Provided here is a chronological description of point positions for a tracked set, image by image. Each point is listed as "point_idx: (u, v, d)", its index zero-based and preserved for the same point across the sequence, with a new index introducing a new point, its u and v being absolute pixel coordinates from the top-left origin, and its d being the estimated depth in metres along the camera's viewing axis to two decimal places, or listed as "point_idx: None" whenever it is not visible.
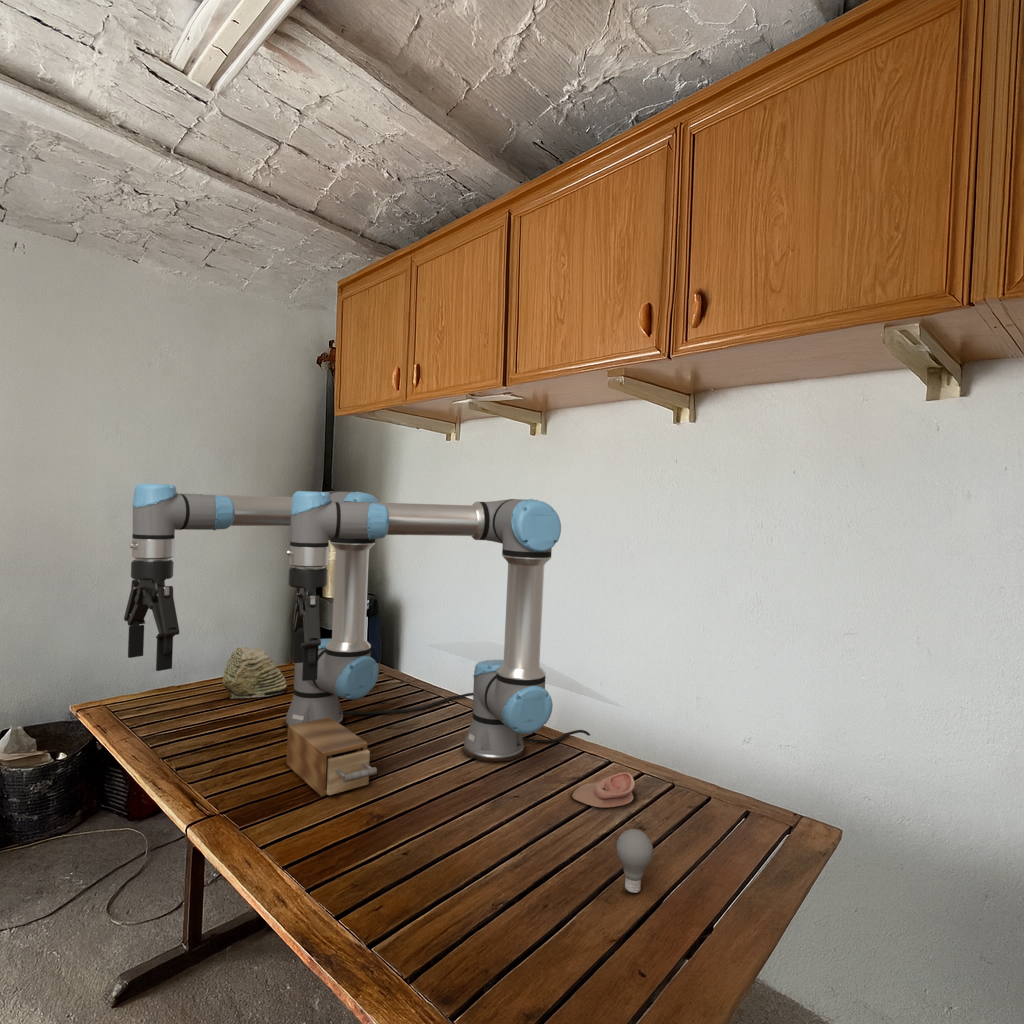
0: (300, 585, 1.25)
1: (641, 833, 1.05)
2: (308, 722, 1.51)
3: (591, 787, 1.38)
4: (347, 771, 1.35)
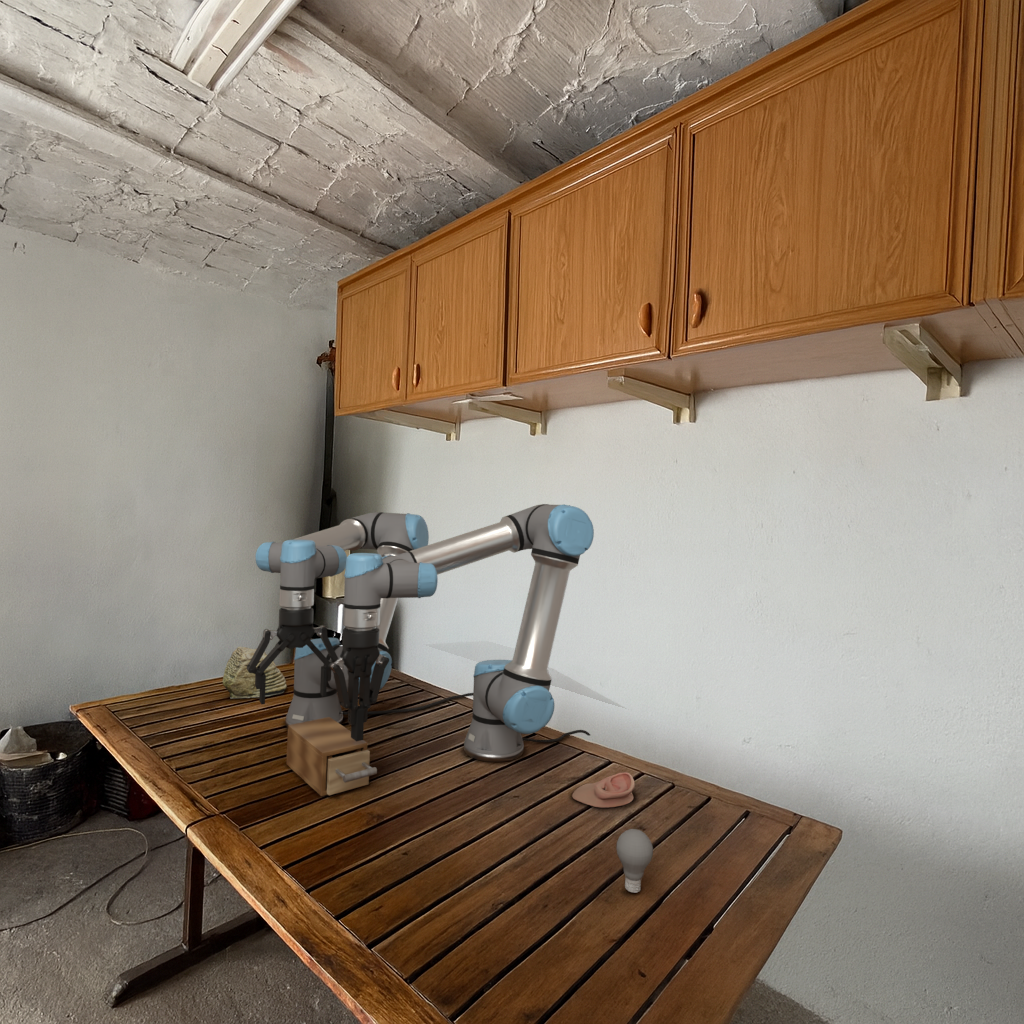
0: (378, 642, 1.34)
1: (641, 833, 1.05)
2: (308, 722, 1.51)
3: (591, 787, 1.38)
4: (347, 771, 1.35)
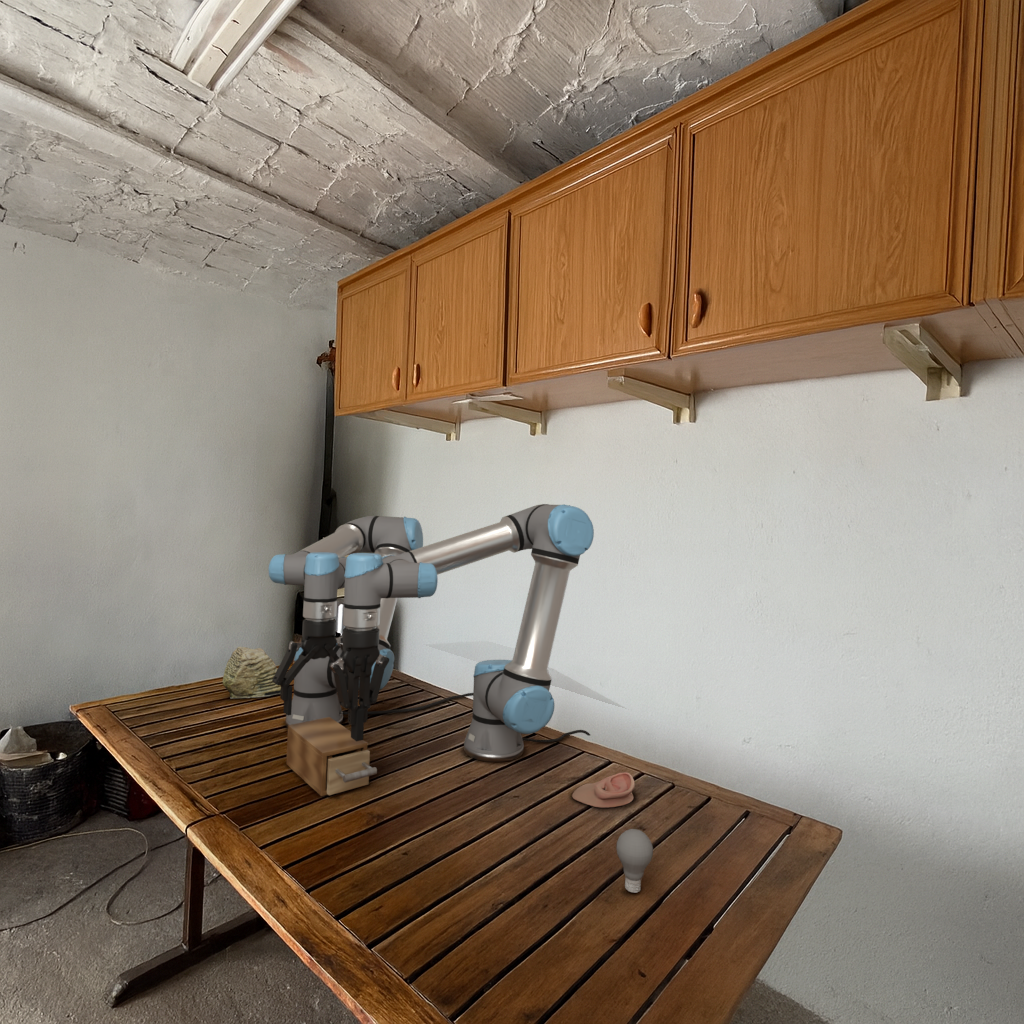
0: (378, 642, 1.34)
1: (641, 833, 1.05)
2: (308, 722, 1.51)
3: (591, 787, 1.38)
4: (347, 771, 1.35)
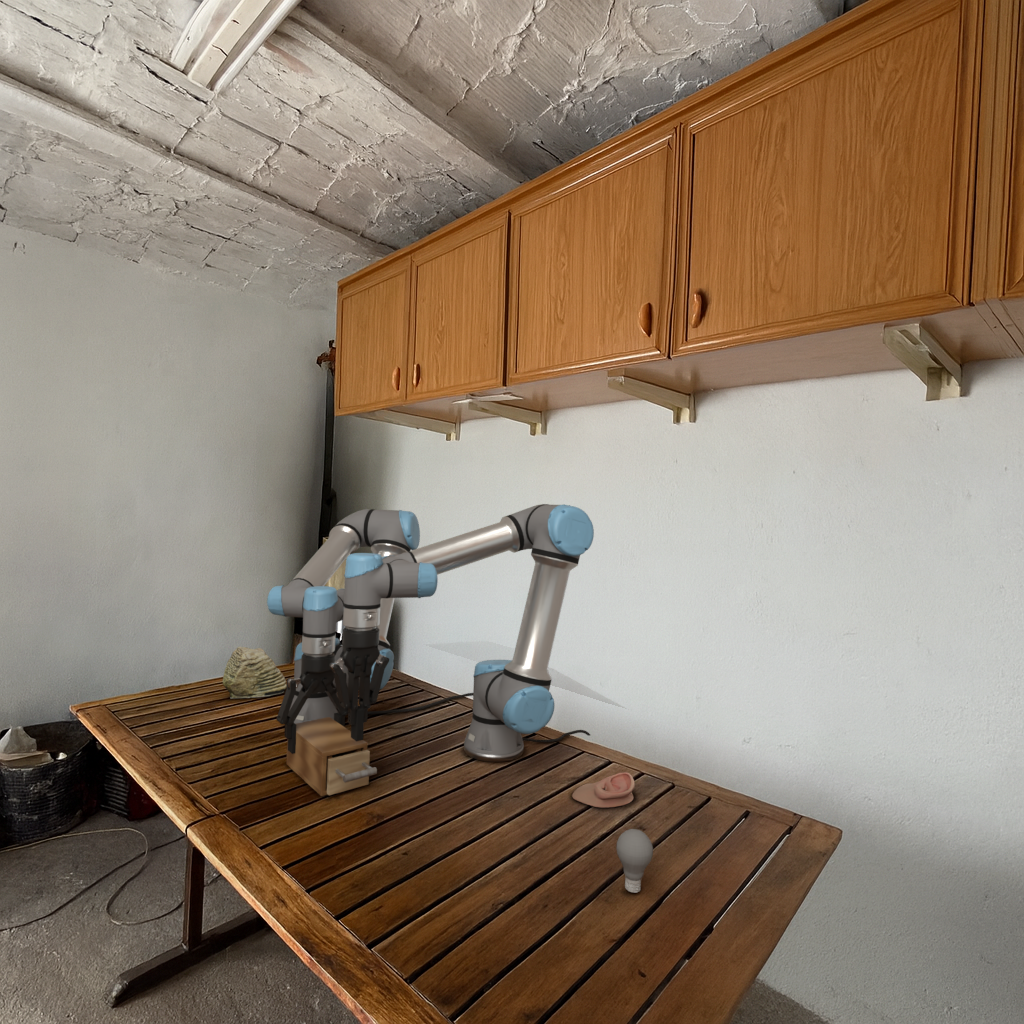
0: (378, 642, 1.34)
1: (641, 833, 1.05)
2: (308, 722, 1.51)
3: (591, 787, 1.38)
4: (347, 771, 1.35)
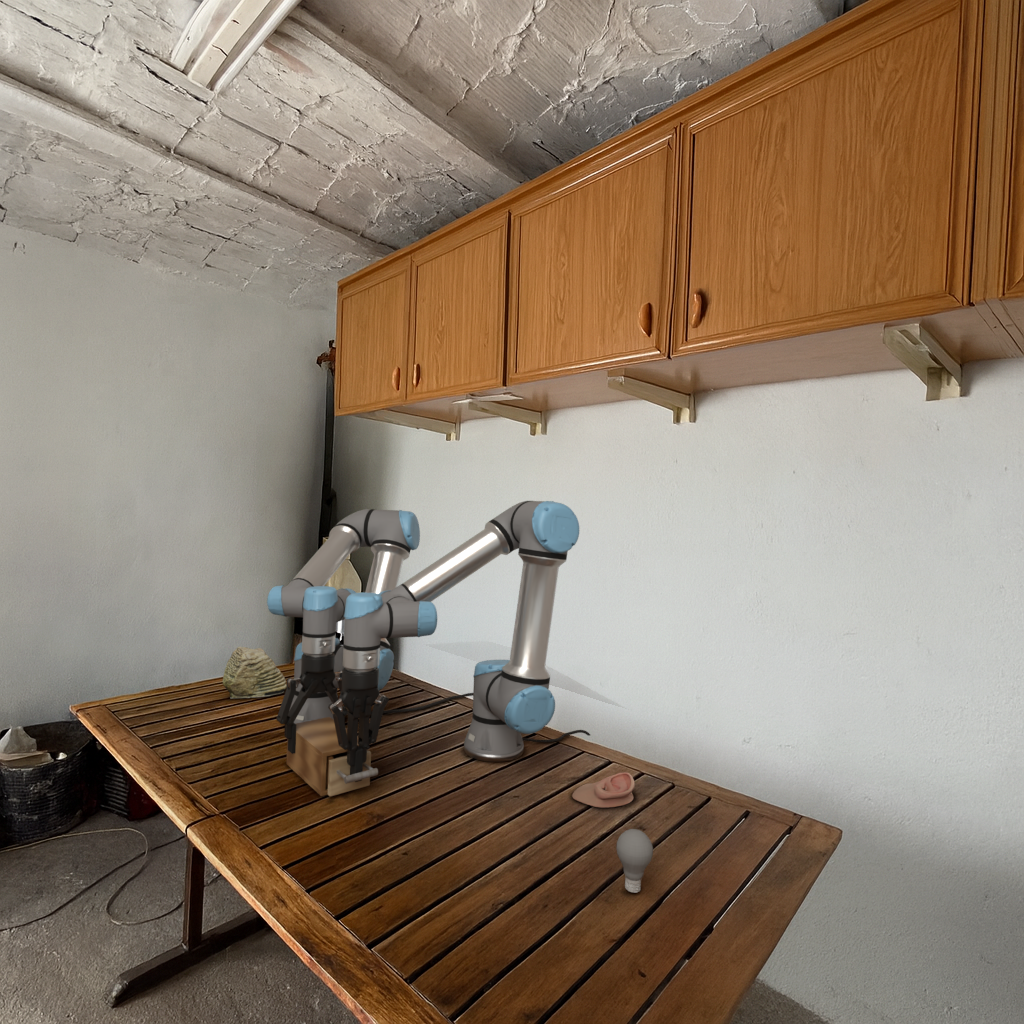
0: None
1: (641, 833, 1.05)
2: (308, 722, 1.51)
3: (591, 787, 1.38)
4: (348, 772, 1.34)
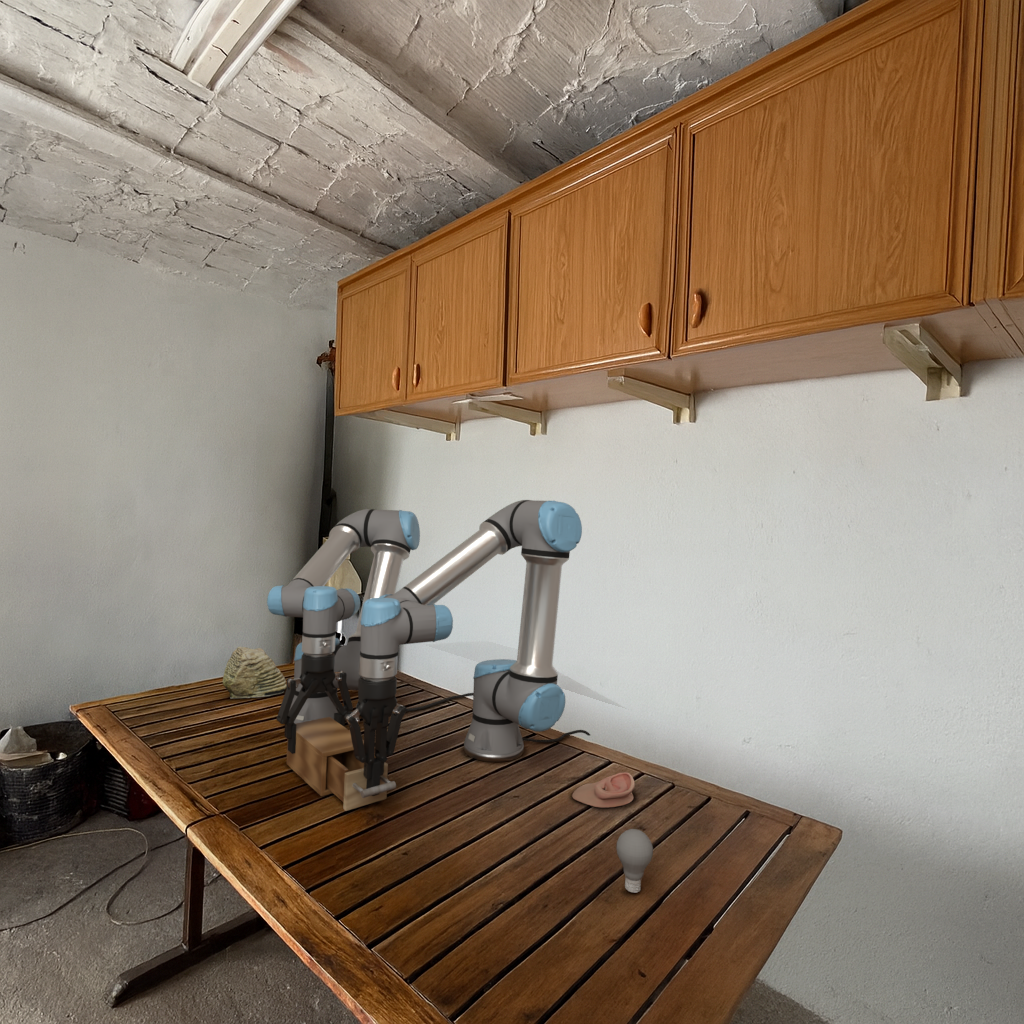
0: None
1: (641, 833, 1.05)
2: (308, 722, 1.51)
3: (591, 787, 1.38)
4: (364, 786, 1.29)
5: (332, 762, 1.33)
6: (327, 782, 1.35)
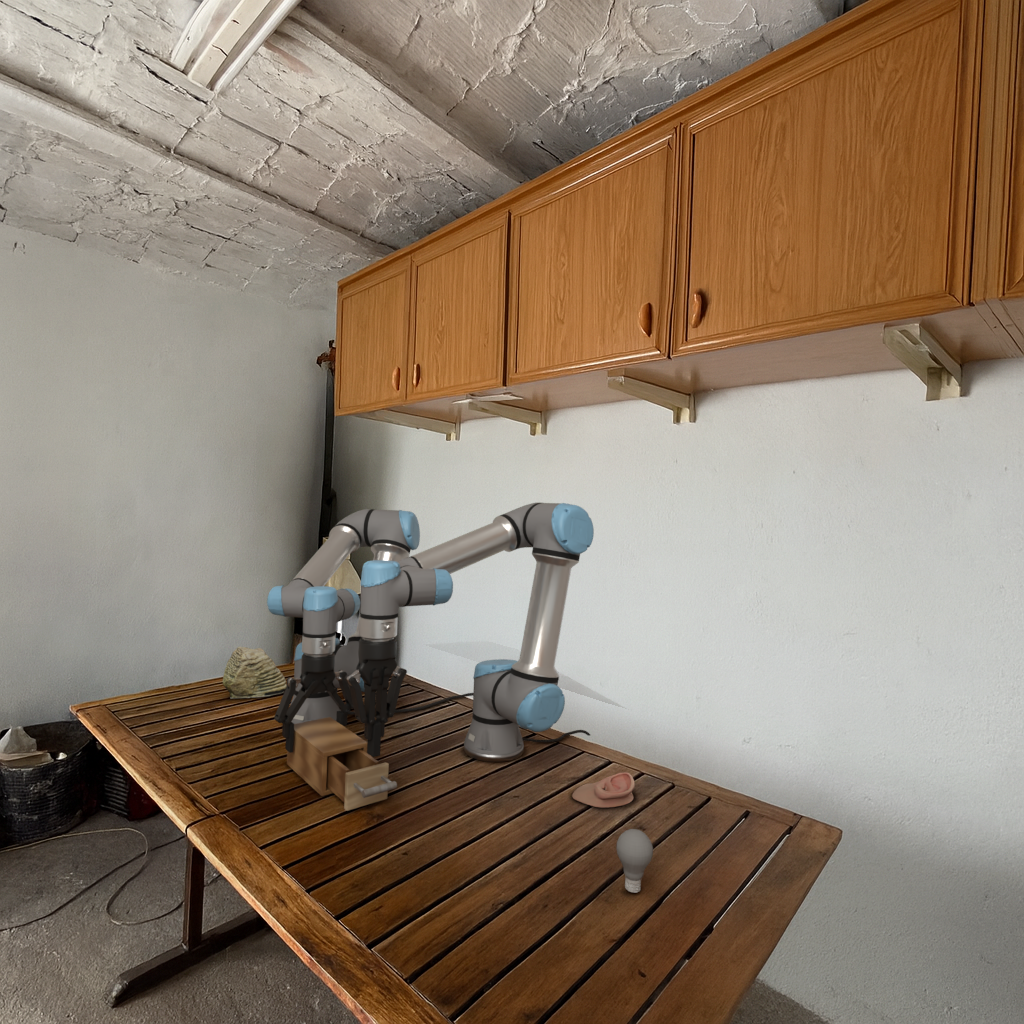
0: None
1: (641, 833, 1.05)
2: (308, 722, 1.51)
3: (591, 787, 1.38)
4: (365, 786, 1.29)
5: (333, 762, 1.33)
6: (328, 782, 1.35)
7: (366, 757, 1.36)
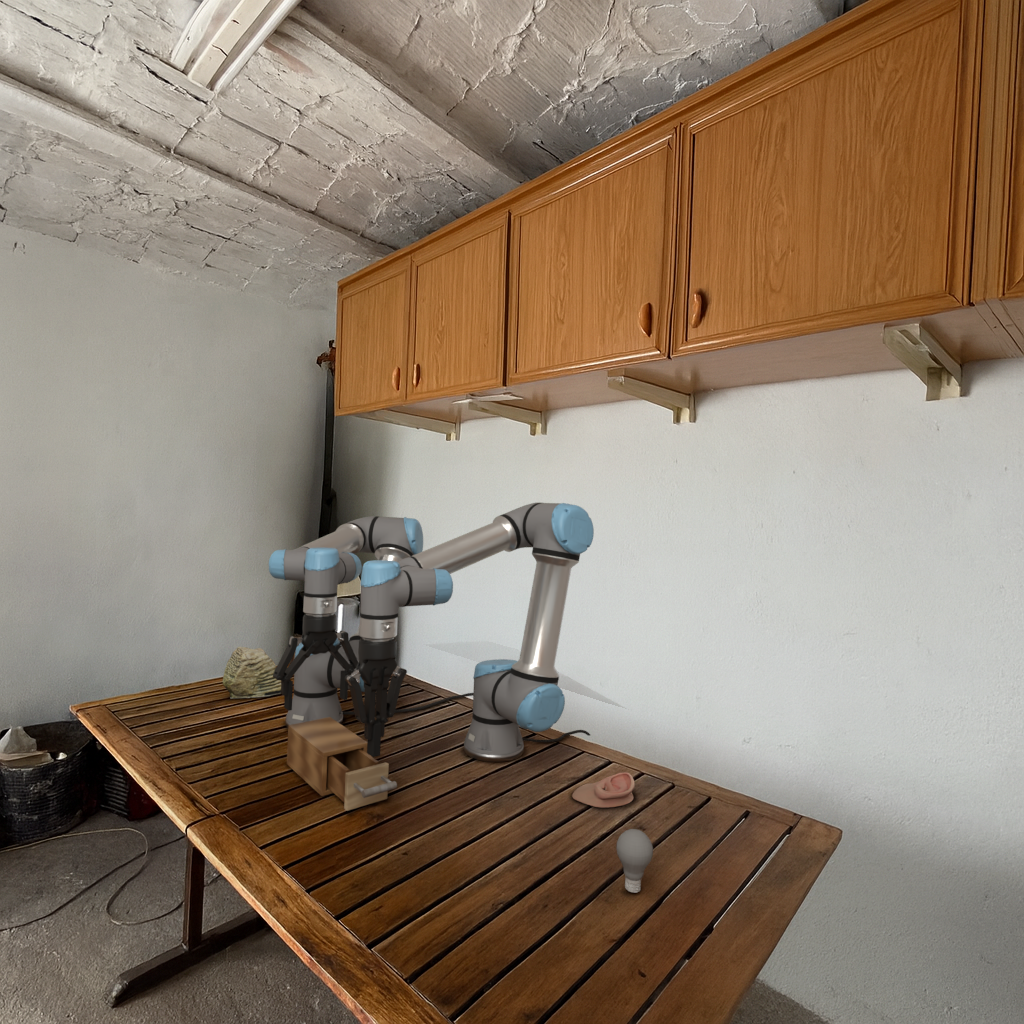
0: None
1: (641, 833, 1.05)
2: (308, 722, 1.51)
3: (591, 787, 1.38)
4: (365, 786, 1.29)
5: (333, 762, 1.33)
6: (328, 782, 1.35)
7: (366, 757, 1.36)
